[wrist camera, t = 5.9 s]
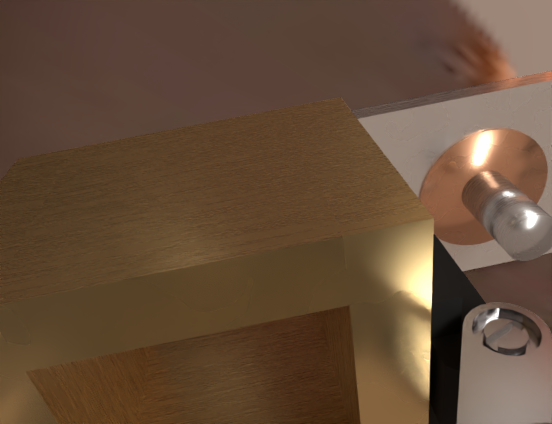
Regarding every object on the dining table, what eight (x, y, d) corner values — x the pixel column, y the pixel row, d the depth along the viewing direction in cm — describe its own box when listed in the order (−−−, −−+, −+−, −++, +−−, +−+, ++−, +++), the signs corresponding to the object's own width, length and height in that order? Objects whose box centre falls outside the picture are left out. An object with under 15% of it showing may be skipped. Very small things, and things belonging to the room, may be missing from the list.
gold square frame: (17, 159, 10) (-112, 326, 6) (340, 97, 11) (433, 218, 6) (122, 376, 14) (86, 576, 10) (359, 327, 14) (426, 501, 10)
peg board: (202, 140, 31) (202, 198, 24) (569, 67, 31) (662, 105, 25) (244, 303, 38) (252, 380, 32) (540, 241, 39) (606, 305, 32)
